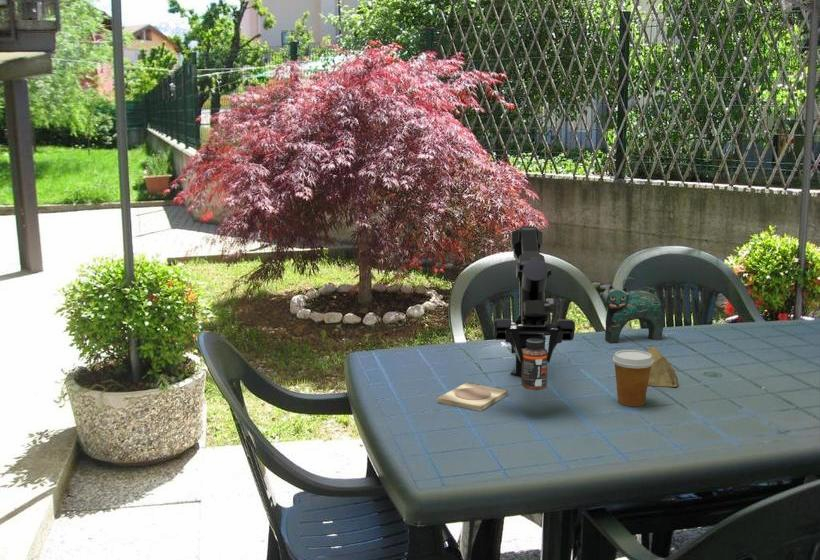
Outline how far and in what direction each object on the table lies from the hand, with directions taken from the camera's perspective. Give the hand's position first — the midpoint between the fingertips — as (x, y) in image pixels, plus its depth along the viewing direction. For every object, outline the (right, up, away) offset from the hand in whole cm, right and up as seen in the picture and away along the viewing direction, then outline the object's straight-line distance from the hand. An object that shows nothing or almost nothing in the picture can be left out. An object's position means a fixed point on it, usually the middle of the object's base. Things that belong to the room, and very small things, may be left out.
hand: (534, 361), depth 200 cm
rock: (+35, -9, +25) cm, 44 cm away
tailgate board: (-13, -11, +15) cm, 23 cm away
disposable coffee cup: (+25, -11, +12) cm, 30 cm away
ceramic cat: (+40, 0, +69) cm, 79 cm away
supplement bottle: (0, -6, +3) cm, 7 cm away
